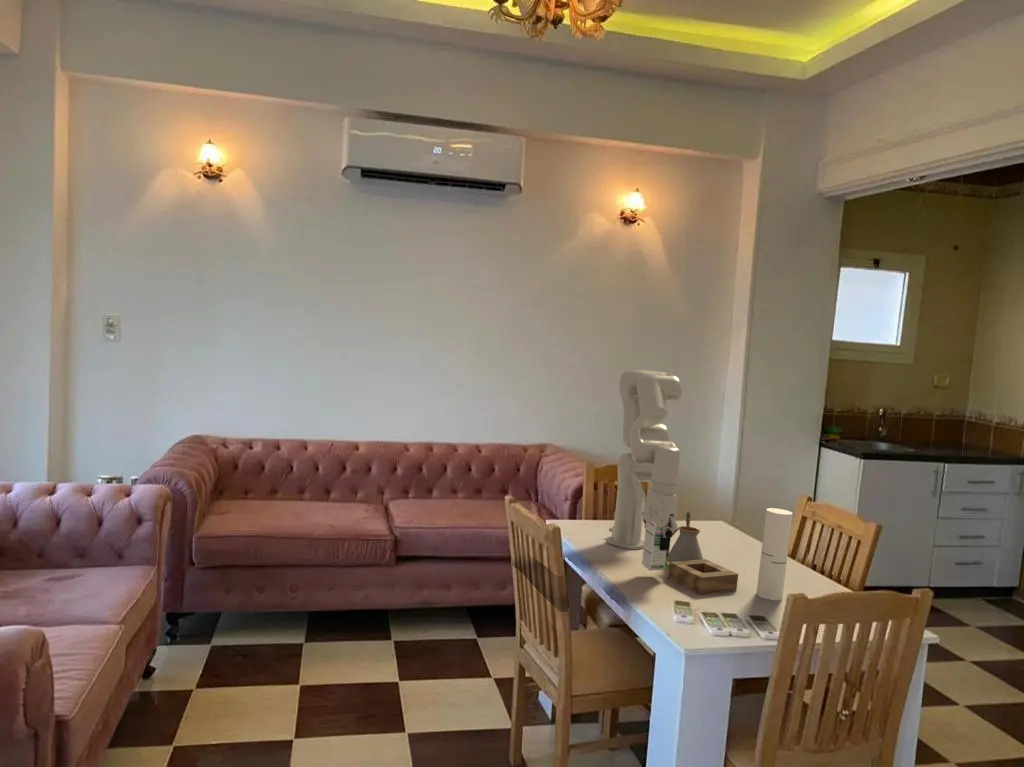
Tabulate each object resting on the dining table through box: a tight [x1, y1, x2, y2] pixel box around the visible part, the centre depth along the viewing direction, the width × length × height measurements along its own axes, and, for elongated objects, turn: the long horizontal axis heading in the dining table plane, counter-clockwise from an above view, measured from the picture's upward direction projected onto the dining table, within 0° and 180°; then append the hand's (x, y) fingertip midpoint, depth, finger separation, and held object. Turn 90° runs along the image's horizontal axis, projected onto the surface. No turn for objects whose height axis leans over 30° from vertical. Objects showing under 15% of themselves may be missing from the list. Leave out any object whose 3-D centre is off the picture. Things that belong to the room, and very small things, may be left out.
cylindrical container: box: [756, 507, 794, 601], centre depth 218 cm, size 7×7×25 cm
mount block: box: [667, 558, 739, 596], centre depth 224 cm, size 14×14×5 cm
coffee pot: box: [668, 511, 704, 565], centre depth 242 cm, size 21×12×15 cm, turn 168°
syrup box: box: [641, 522, 670, 572], centre depth 226 cm, size 6×6×14 cm
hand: (656, 545), depth 226 cm, fingers closed on syrup box, 6 cm apart
